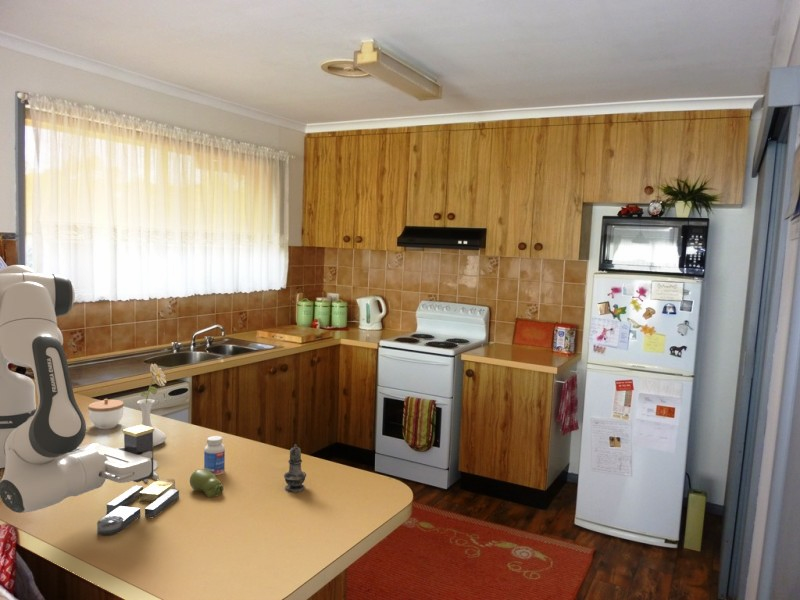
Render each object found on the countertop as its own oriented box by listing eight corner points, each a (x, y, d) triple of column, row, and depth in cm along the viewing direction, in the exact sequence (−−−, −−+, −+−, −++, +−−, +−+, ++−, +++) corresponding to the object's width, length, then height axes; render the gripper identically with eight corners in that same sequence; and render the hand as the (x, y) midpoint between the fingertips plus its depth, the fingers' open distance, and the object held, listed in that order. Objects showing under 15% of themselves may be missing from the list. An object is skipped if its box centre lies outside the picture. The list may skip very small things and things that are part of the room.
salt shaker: (310, 485, 155) (310, 441, 154) (299, 494, 150) (300, 449, 149) (290, 482, 157) (291, 438, 156) (279, 490, 152) (279, 445, 150)
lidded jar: (130, 425, 200) (130, 398, 199) (100, 433, 191) (99, 405, 190) (112, 419, 205) (112, 393, 204) (82, 427, 196) (81, 399, 195)
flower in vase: (148, 453, 175) (146, 371, 172) (117, 448, 178) (116, 367, 176) (177, 439, 187) (177, 362, 184) (148, 434, 191) (147, 359, 188)
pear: (204, 463, 154) (229, 478, 149) (201, 481, 155) (227, 497, 150) (186, 469, 149) (212, 485, 144) (183, 488, 150) (209, 505, 145)
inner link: (161, 484, 153) (161, 477, 153) (178, 486, 152) (178, 479, 152) (139, 500, 144) (139, 492, 144) (158, 502, 143) (158, 494, 143)
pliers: (153, 455, 170) (171, 472, 158) (153, 461, 170) (171, 478, 158) (116, 463, 163) (132, 481, 152) (116, 468, 164) (132, 487, 152)
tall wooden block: (137, 483, 136) (136, 433, 134) (123, 478, 138) (122, 429, 137) (154, 476, 140) (154, 428, 139) (141, 471, 142) (140, 424, 141)
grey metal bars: (135, 493, 148) (135, 485, 148) (178, 497, 146) (178, 489, 146) (78, 532, 128) (77, 523, 127) (128, 538, 126) (127, 529, 126)
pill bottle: (218, 477, 159) (218, 442, 158) (200, 475, 160) (200, 440, 159) (228, 469, 164) (228, 435, 163) (210, 467, 165) (210, 434, 164)
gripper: (116, 466, 122) (171, 447, 134) (58, 447, 132) (114, 431, 144) (117, 495, 122) (172, 473, 134) (59, 474, 132) (115, 456, 144)
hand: (142, 451), depth 139 cm, fingers closed on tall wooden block, 4 cm apart
